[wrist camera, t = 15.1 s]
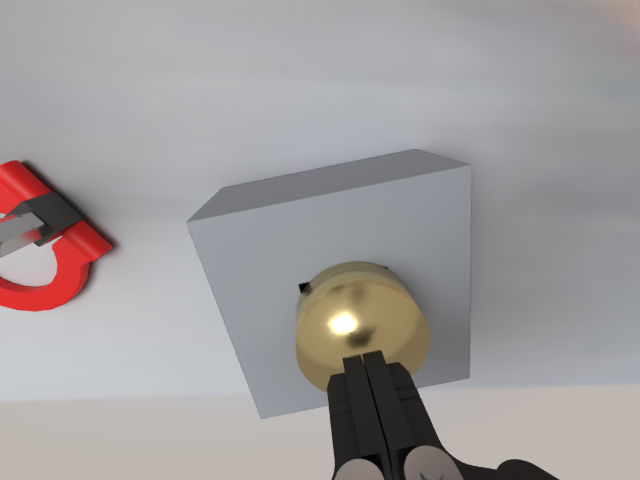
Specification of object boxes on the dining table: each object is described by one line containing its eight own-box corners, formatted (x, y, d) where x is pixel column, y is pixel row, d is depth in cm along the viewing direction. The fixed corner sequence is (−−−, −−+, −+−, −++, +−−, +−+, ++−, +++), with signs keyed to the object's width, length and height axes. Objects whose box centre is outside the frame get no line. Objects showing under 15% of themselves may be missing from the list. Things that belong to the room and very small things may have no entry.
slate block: (221, 188, 18) (185, 222, 12) (414, 149, 18) (471, 164, 12) (270, 340, 23) (260, 419, 17) (424, 309, 23) (469, 377, 17)
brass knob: (287, 229, 19) (281, 306, 11) (374, 211, 19) (427, 277, 11) (305, 301, 21) (310, 408, 14) (383, 286, 21) (432, 384, 14)
